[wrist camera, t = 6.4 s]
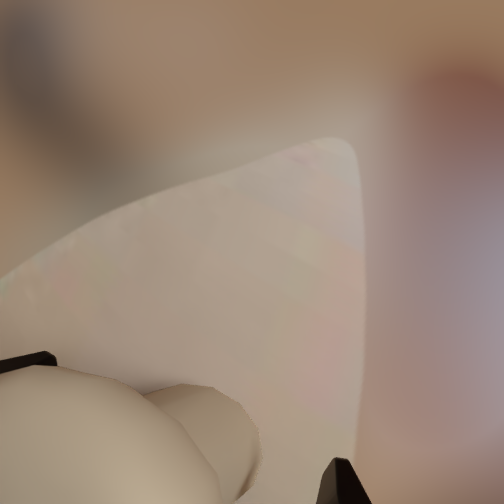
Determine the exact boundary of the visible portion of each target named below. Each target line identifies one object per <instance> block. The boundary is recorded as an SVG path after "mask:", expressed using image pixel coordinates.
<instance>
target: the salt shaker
mask: <svg viewBox="0 0 504 504" xmlns="http://www.w3.org/2000/svg"><path fill="white" fill-rule="evenodd" d="M262 459H263V455H262V449H261V443H260V437H259V431H258V427H257V426H256V425H255V423H254V422H253V421H252V419H251V418H250V417H249V415H248V414H247V413H246V411H245V410H244V409H243V407H242V406H241V405H240V403H238V402H236V401H235V400H233V399H231V398H230V397H228V396H226V395H224V394H223V393H221V392H219V391H218V390H216V389H215V388H213V387H207V386H196V385H187V384H179V385H176V386H172V387H169V388H165V389H162V390H158V391H155V392H151V393H149V394H146V395H143V396H142V395H141V394H139V393H138V392H137V391H135V390H134V389H133V388H131V387H130V386H128V385H125V384H123V383H121V382H119V381H117V380H115V379H110V378H106V377H101V376H96V375H92V374H87V373H83V372H79V371H75V370H71V369H67V368H63V367H59V366H40V365H32V366H29V367H25V368H21V369H18V370H14V371H10V372H6V373H2V374H0V504H233V503H234V502H235V501H236V500H238V499H239V498H240V497H241V496H242V495H243V494H244V493H245V492H247V491H248V490H249V489H250V488H251V487H252V486H253V485H254V482H255V479H256V477H257V474H258V471H259V468H260V465H261V462H262Z"/></svg>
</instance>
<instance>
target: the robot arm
mask: <svg viewBox="0 0 504 504" xmlns="http://www.w3.org/2000/svg"><path fill="white" fill-rule="evenodd" d="M32 365H40V366H57V361H56V357H55V356H54V355H52V354H51V353H49V352H47V351H42V352H37V353H33V354H28V355H24V356H19V357H14V358H10V359H5V360H0V374H2V373H6V372H10V371H14V370H18V369H21V368H25V367H29V366H32ZM316 504H372V503H371V501H370V499H369V497H368V496H367V494H366V492H365V490H364V488H363V486H362V484H361V482H360V480H359V479H358V477H357V475H356V473H355V471H354V469H353V467H352V465H351V463H350V462H349V460H348V459H344V458H338V457H335V458H333V460H332V461H331V462H330V464H329V465H328V467H327V468H326V470H325V471H324V473H323V476H322V479H321V484H320V488H319V493H318V497H317V502H316Z"/></svg>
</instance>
